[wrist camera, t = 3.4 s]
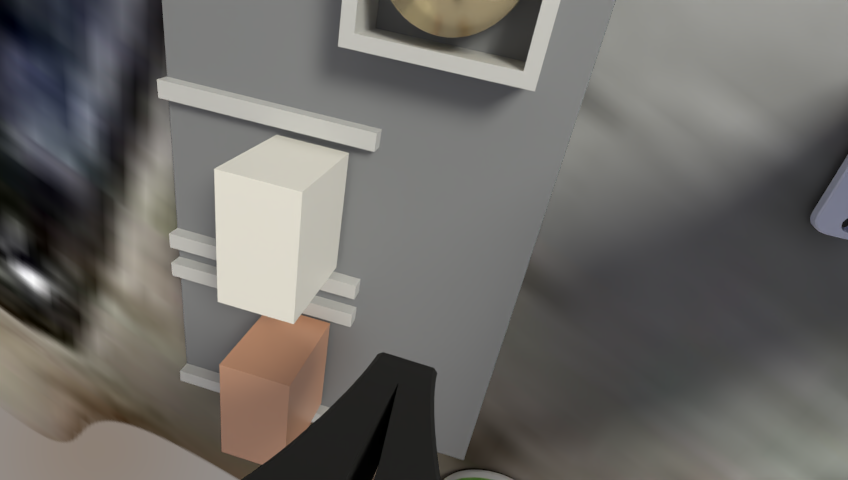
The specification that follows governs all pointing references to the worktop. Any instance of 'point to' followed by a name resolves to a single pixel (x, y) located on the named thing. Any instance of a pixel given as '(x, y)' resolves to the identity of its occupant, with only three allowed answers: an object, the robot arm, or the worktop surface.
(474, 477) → the supplement bottle
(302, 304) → the ivory rectangular block
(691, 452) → the worktop surface
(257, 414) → the salmon orange block
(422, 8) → the brass button
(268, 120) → the switch panel
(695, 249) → the worktop surface
